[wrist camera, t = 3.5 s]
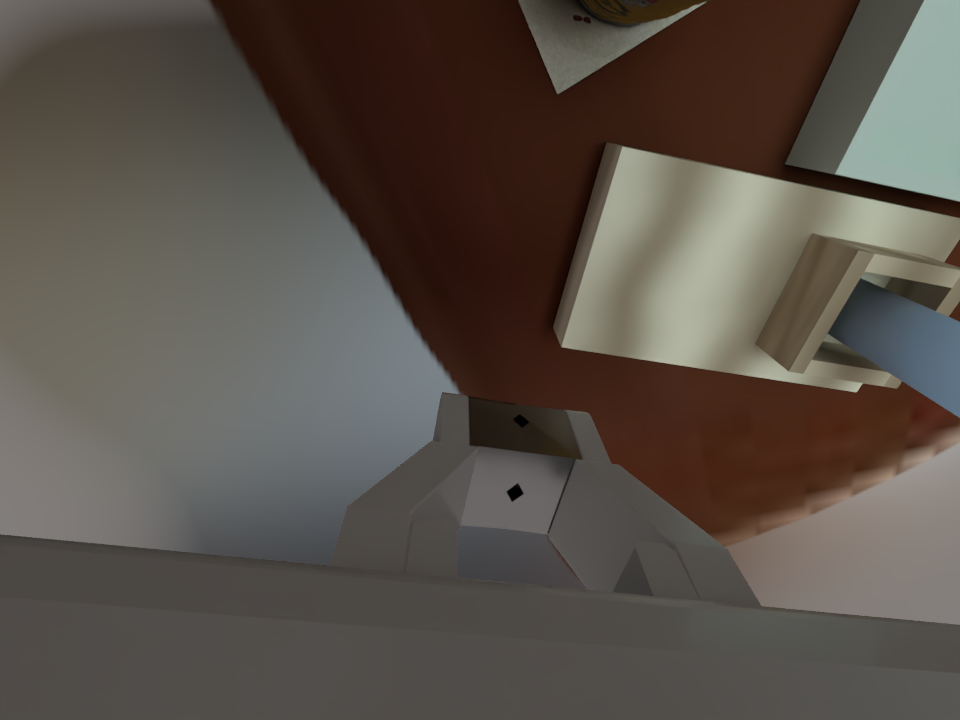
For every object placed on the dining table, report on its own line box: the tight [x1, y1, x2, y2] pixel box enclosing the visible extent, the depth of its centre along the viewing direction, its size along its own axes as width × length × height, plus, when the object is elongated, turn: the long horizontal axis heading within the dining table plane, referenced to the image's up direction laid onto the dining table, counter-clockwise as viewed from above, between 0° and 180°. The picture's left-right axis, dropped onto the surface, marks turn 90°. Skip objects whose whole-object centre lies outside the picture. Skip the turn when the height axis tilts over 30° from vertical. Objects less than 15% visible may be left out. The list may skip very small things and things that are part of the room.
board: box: [553, 142, 960, 392], centre depth 24 cm, size 18×10×6 cm, turn 79°
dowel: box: [827, 278, 960, 417], centre depth 21 cm, size 3×3×9 cm
